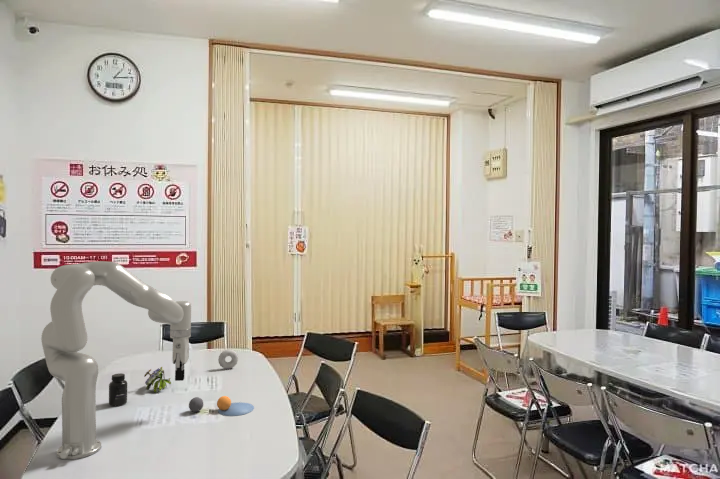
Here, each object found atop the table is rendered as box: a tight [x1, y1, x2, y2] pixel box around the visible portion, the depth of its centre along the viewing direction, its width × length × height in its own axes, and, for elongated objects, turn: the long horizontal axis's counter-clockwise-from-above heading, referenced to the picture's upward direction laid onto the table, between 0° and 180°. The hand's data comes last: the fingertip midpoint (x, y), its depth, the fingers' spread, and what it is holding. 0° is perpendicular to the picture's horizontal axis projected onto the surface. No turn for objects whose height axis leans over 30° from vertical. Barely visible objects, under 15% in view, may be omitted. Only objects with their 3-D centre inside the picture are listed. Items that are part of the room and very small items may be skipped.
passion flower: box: [144, 366, 172, 394], centre depth 219 cm, size 11×11×12 cm
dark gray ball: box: [188, 396, 204, 413], centre depth 192 cm, size 6×6×6 cm
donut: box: [218, 348, 239, 370], centre depth 250 cm, size 10×4×10 cm, turn 112°
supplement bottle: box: [108, 373, 128, 407], centre depth 200 cm, size 7×7×12 cm
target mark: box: [217, 401, 255, 417], centre depth 195 cm, size 14×14×1 cm
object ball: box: [216, 395, 232, 411], centre depth 194 cm, size 6×6×6 cm
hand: (179, 379), depth 190 cm, fingers closed
